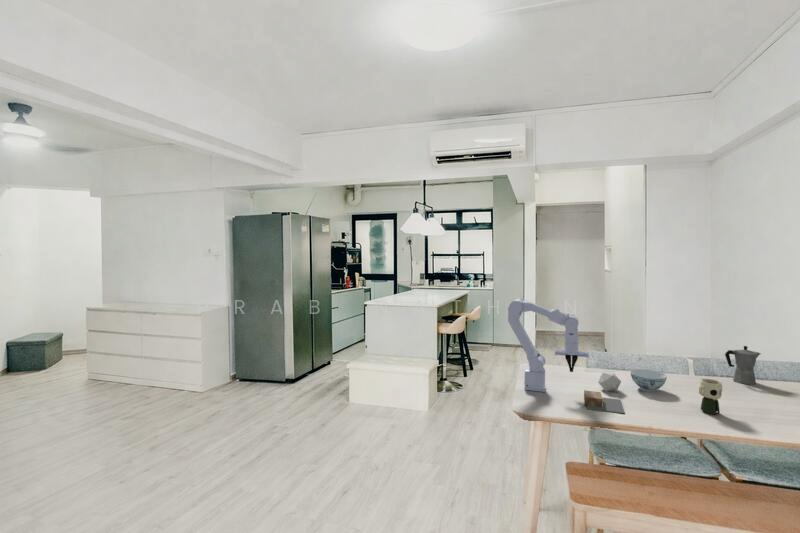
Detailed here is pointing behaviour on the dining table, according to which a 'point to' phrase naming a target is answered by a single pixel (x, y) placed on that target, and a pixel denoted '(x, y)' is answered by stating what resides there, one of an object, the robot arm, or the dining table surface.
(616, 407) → the mat
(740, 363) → the coffeepot
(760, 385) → the dining table surface
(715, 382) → the character mug
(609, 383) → the die
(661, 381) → the chinaware
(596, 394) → the two-tone wooden block
